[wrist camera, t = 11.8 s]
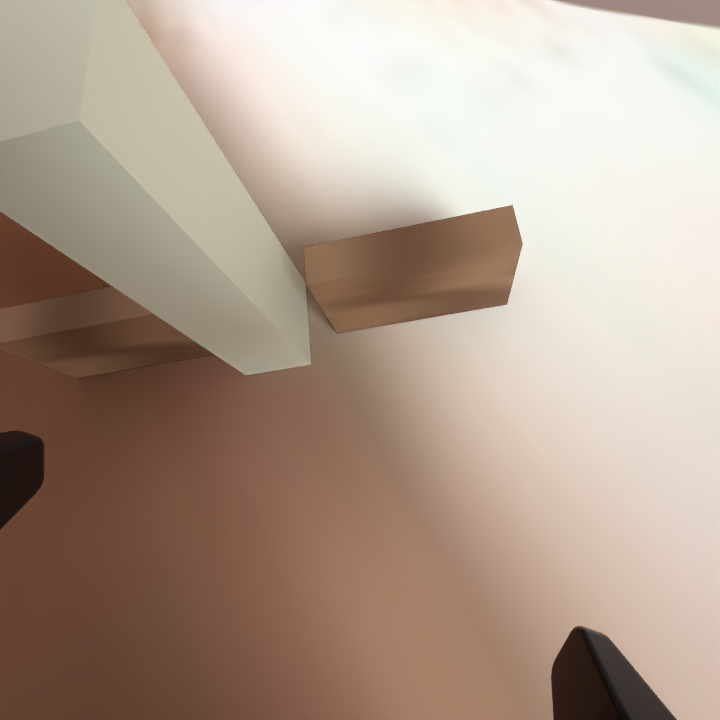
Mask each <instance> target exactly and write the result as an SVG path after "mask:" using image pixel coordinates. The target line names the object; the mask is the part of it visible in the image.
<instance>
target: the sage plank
mask: <svg viewBox="0 0 720 720" xmlns="http://www.w3.org/2000/svg"><path fill="white" fill-rule="evenodd" d="M0 212H2V213H3V214H5V215H6V216H8V217H9V218H11V219H12V220H14V221H15V222H17V223H18V224H20V225H21V226H23V227H24V228H26V229H27V230H29V231H30V232H32V233H33V234H35V235H36V236H38V237H39V238H41V239H42V240H44V241H45V242H47V243H48V244H50V245H51V246H53V247H54V248H56V249H57V250H59V251H60V252H62V253H63V254H65V255H66V256H68V257H69V258H71V259H72V260H74V261H75V262H77V263H78V264H80V265H81V266H83V267H84V268H86V269H87V270H89V271H90V272H92V273H93V274H95V275H96V276H98V277H99V278H101V279H102V280H104V281H105V282H107V283H108V284H110V285H111V286H113V287H114V288H116V289H117V290H119V291H120V292H122V293H123V294H125V295H126V296H128V297H129V298H131V299H132V300H134V301H135V302H137V303H138V304H140V305H141V306H143V307H144V308H146V309H147V310H149V311H150V312H152V313H153V314H155V315H156V316H158V317H159V318H161V319H162V320H164V321H165V322H167V323H168V324H170V325H171V326H172V327H174V328H175V329H177V330H178V331H180V332H181V333H183V334H184V335H186V336H187V337H189V338H190V339H192V340H193V341H195V342H196V343H198V344H199V345H201V346H202V347H204V348H205V349H207V350H208V351H210V352H211V353H213V354H214V355H216V356H217V357H219V358H220V359H222V360H223V361H225V362H226V363H228V364H229V365H231V366H232V367H234V368H235V369H237V370H238V371H240V372H241V373H243V374H244V375H251V374H257V373H263V372H269V371H276V370H282V369H288V368H294V367H300V366H306V365H311V354H310V339H309V325H308V310H307V296H306V283H305V281H304V280H303V278H302V277H301V275H300V273H299V272H298V270H297V269H296V267H295V266H294V264H293V262H292V261H291V259H290V258H289V256H288V255H287V253H286V252H285V250H284V248H283V247H282V245H281V244H280V242H279V241H278V239H277V237H276V236H275V234H274V233H273V231H272V230H271V228H270V226H269V225H268V223H267V222H266V220H265V219H264V217H263V215H262V214H261V212H260V211H259V209H258V208H257V206H256V204H255V203H254V201H253V200H252V198H251V197H250V195H249V194H248V192H247V190H246V189H245V187H244V186H243V184H242V183H241V181H240V179H239V178H238V176H237V175H236V173H235V172H234V170H233V168H232V167H231V165H230V164H229V162H228V161H227V159H226V157H225V156H224V154H223V153H222V151H221V150H220V148H219V146H218V145H217V143H216V142H215V140H214V139H213V137H212V136H211V134H210V132H209V131H208V129H207V128H206V126H205V125H204V123H203V121H202V120H201V118H200V117H199V115H198V114H197V112H196V110H195V109H194V107H193V106H192V104H191V103H190V101H189V99H188V98H187V96H186V95H185V93H184V92H183V90H182V89H181V87H180V85H179V84H178V82H177V81H176V79H175V78H174V76H173V74H172V73H171V71H170V70H169V68H168V67H167V65H166V63H165V62H164V60H163V59H162V57H161V56H160V54H159V52H158V51H157V49H156V48H155V46H154V45H153V43H152V41H151V40H150V38H149V37H148V35H147V34H146V32H145V31H144V29H143V27H142V26H141V24H140V23H139V21H138V20H137V18H136V16H135V15H134V13H133V12H132V10H131V9H130V7H129V5H128V4H127V2H126V1H125V0H0Z"/></svg>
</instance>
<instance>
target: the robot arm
mask: <svg viewBox="0 0 720 720" xmlns="http://www.w3.org/2000/svg"><path fill="white" fill-rule="evenodd" d="M43 480H44V443H43V441H42V439H41V438H39V437H37V436H34V435H32V434H29V433H26V432H23V431H9V432H3V433H0V529H1V528H2V527H3V526H4V525H5V524H6V523H7V522H8V521H9V520H10V519H11V518H12V517H13V516H14V515H15V514H16V513H17V512H18V511H19V510H20V509H21V508H22V507H23V506H24V505H25V504H26V503H27V502H28V501H29V500H30V499H31V498H32V497H33V496H34V495H35V494H36V493H37V491H38V490H39V489H40V487H41V485H42V483H43ZM551 682H552V700H553V718H554V720H677V719H676V718H675V717H674V716H673V715H672V713H671V712H670V711H669V710H668V709H667V707H666V706H665V705H664V704H663V702H662V701H661V700H660V699H659V698H658V696H657V695H656V694H655V693H654V692H653V690H652V689H651V688H650V687H649V686H648V684H647V683H646V682H645V681H644V680H643V678H642V677H641V676H640V675H639V674H638V672H637V671H636V670H635V669H634V667H633V666H632V665H631V664H630V663H629V661H628V660H627V659H626V658H625V657H624V655H623V654H622V653H621V652H620V651H619V649H618V648H617V647H616V646H615V645H614V643H613V642H612V641H611V640H610V639H609V638H608V637H607V636H606V635H604V634H603V633H600V632H597V631H594V630H592V629H589V628H586V627H583V626H577V627H575V628H574V629H573V630H572V631H571V633H570V634H569V636H568V638H567V640H566V641H565V643H564V645H563V646H562V648H561V650H560V652H559V653H558V655H557V657H556V659H555V661H554V663H553V667H552V674H551Z"/></svg>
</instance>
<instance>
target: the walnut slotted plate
mask: <svg viewBox="0 0 720 720" xmlns="http://www.w3.org/2000/svg"><path fill="white" fill-rule="evenodd" d="M522 244H523V243H522V240H521V236H520V232H519V228H518V224H517V220H516V217H515V213H514V209H513V205H511V206H506V207H501V208H496V209H491V210H486V211H481V212H476V213H471V214H466V215H461V216H457V217H452V218H447V219H442V220H437V221H432V222H427V223H422V224H417V225H412V226H407V227H402V228H397V229H392V230H387V231H382V232H378V233H373V234H368V235H363V236H358V237H353V238H348V239H343V240H338V241H333V242H328V243H323V244H318V245H313V246H308V247H304V262H305V276H306V285H307V287H308V289H309V290H310V292H311V293H312V295H313V296H314V298H315V299H316V301H317V303H318V304H319V306H320V307H321V309H322V310H323V312H324V314H325V315H326V317H327V318H328V320H329V321H330V323H331V324H332V326H333V328H334V329H335V331H336V332H337V333H343V332H349V331H355V330H360V329H366V328H372V327H378V326H384V325H390V324H395V323H401V322H407V321H413V320H419V319H425V318H430V317H436V316H442V315H448V314H454V313H460V312H465V311H471V310H477V309H483V308H489V307H495V306H500V305H506V304H507V302H508V298H509V294H510V290H511V287H512V283H513V279H514V275H515V271H516V267H517V263H518V260H519V256H520V252H521V248H522ZM0 351H3V352H6V353H9V354H11V355H14V356H17V357H20V358H22V359H25V360H28V361H31V362H34V363H36V364H39V365H42V366H45V367H47V368H50V369H53V370H56V371H59V372H61V373H64V374H67V375H70V376H72V377H75V378H81V377H86V376H92V375H98V374H104V373H110V372H116V371H121V370H127V369H133V368H139V367H145V366H151V365H156V364H162V363H168V362H174V361H180V360H186V359H191V358H197V357H203V356H209V355H214V354H213V353H211V352H210V351H208V350H207V349H205V348H204V347H202V346H201V345H199V344H198V343H196V342H195V341H193V340H192V339H190V338H189V337H187V336H186V335H184V334H183V333H181V332H180V331H178V330H177V329H175V328H174V327H172V326H171V325H170V324H168V323H167V322H165V321H164V320H162V319H161V318H159V317H158V316H156V315H155V314H153V313H152V312H150V311H149V310H147V309H146V308H144V307H143V306H141V305H140V304H138V303H137V302H135V301H134V300H132V299H131V298H129V297H128V296H126V295H125V294H123V293H122V292H120V291H119V290H117V289H116V288H114V287H113V286H111V287H106V288H101V289H96V290H91V291H86V292H81V293H77V294H72V295H67V296H62V297H57V298H52V299H47V300H42V301H37V302H32V303H27V304H22V305H17V306H12V307H7V308H2V309H0Z"/></svg>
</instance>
